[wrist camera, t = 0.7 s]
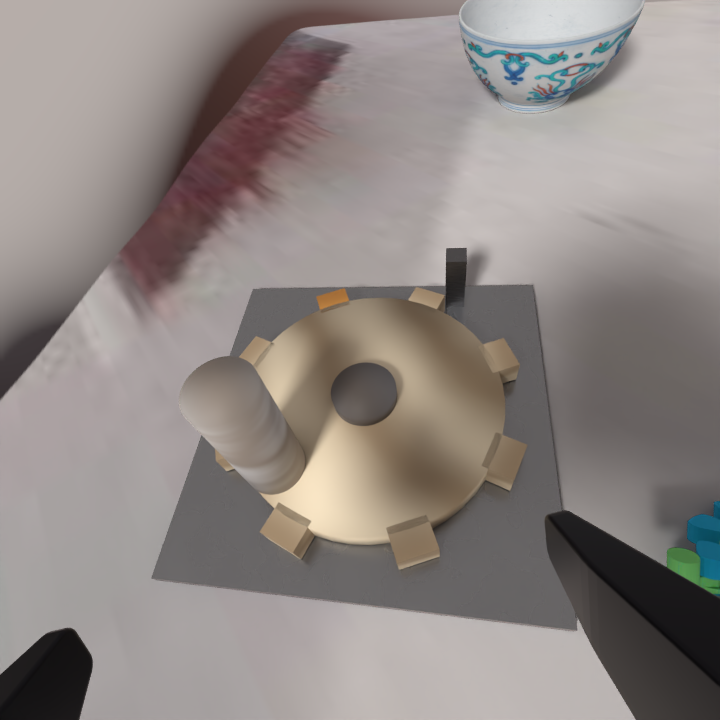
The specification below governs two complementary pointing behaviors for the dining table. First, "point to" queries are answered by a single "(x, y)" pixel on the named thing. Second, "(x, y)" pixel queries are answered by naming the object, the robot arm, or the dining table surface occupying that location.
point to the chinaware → (543, 46)
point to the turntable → (361, 422)
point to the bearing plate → (377, 562)
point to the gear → (700, 552)
